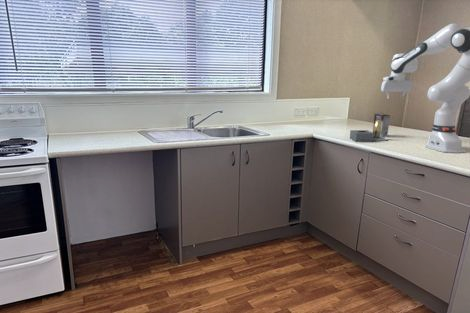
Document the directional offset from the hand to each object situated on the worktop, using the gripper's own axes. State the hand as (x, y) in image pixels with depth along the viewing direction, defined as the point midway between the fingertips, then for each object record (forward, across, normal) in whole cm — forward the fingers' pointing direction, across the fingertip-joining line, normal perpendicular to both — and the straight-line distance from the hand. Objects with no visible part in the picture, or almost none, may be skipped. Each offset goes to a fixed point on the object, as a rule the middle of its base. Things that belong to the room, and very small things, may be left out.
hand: (395, 98), depth 235 cm
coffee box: (+28, +4, -10) cm, 30 cm away
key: (+27, +12, +2) cm, 30 cm away
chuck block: (+28, +24, +6) cm, 38 cm away
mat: (+28, +12, +3) cm, 31 cm away
